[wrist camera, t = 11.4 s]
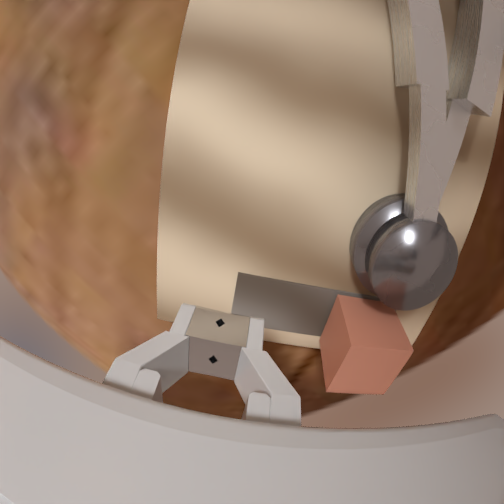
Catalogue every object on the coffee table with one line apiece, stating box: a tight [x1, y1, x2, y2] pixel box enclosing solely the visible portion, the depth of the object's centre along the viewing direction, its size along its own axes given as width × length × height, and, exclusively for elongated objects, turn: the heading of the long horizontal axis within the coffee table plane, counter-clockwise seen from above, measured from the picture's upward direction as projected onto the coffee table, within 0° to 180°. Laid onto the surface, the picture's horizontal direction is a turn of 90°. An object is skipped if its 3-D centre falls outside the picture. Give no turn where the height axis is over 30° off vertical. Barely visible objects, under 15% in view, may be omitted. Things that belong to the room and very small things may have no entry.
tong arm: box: [365, 0, 458, 311], centre depth 8 cm, size 18×4×2 cm, turn 3°
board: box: [157, 0, 504, 349], centre depth 11 cm, size 26×15×2 cm, turn 170°
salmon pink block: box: [319, 294, 414, 395], centre depth 13 cm, size 3×3×4 cm
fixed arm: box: [349, 0, 504, 295], centre depth 8 cm, size 19×5×2 cm, turn 164°
